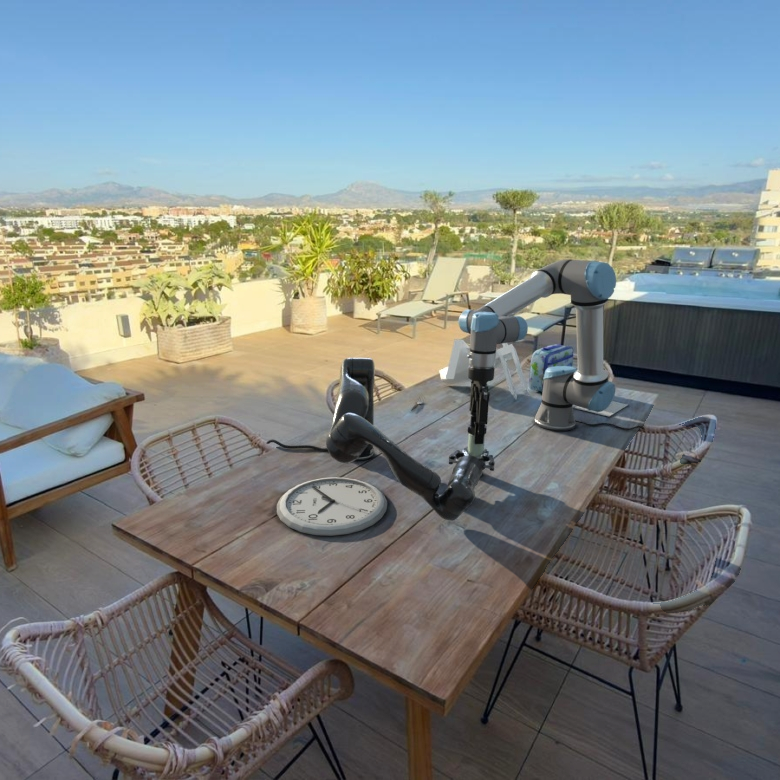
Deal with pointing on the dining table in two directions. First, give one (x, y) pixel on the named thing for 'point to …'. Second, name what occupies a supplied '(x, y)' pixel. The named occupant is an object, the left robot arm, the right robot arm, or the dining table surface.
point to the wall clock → (331, 506)
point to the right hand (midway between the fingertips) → (476, 439)
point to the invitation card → (607, 409)
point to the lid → (472, 429)
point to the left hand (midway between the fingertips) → (476, 450)
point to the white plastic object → (460, 365)
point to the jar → (474, 447)
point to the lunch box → (548, 363)
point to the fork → (418, 403)
